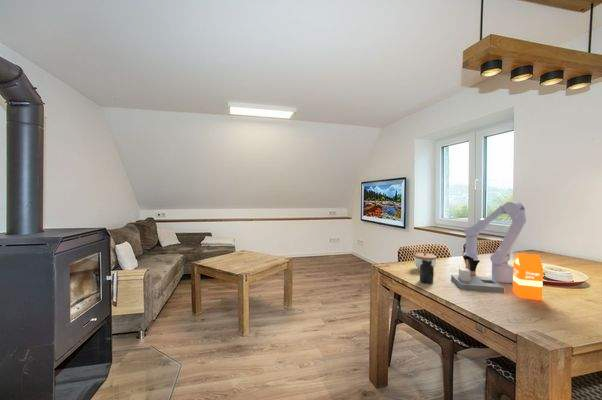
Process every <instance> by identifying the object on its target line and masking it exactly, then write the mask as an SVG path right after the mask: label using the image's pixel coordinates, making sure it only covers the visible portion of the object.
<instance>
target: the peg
mask: <svg viewBox="0 0 602 400" xmlns="http://www.w3.org/2000/svg"><path fill="white" fill-rule="evenodd" d="M465 269H468V270H470V264H469V261H468V259H466V264H465ZM476 270H477V269H476ZM476 270H475V271H471V270H470V276H477V274H476Z"/></svg>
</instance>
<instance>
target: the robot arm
mask: <svg viewBox="0 0 602 400" xmlns="http://www.w3.org/2000/svg"><path fill="white" fill-rule="evenodd" d="M525 211H526V207H525V206H524V205H523V204H522V203H521V202H520V201H506V202H505V203H504V204H502V205H500V206H498V207H497V208H496V209H495V210H494V211H492V212H491V213H490V214H488V215H487V216H486V217H485V218H484V217H483V218H482V217H481V218H477V219H476V221H475V222H474V223H471V224H470V226H466V228H465V229H464V235H465V251H464V253H463V254H462V257H463V259H464V263H465V265H466V259H468V261H469V264H470V270H471V271H475V270H477V267H478V264H479V263H480V259H479V258H478V254H477V253H478V236H479V235H480V233H481V232H483V231H484V230H485V229H487V228H489V226H490V223H491V222H493V221H494V220H495V219H498V218H499V217H500V216H502V215H507V216H509V217H510V219H511V221H512V222H511V223H510V226H509V228H508V230H507V231H506V234H505V235H504V237H503V239H502V240H501V243H500V244H499V247H498V248H496V250H495V252H494V253H492V254H491V255H490V261H491V276H489V277H490V278H491V279H493V280H494V281H496V282H497V283H507V284H513V270H514V265H512V264H509V263H508V262H509V261H510V259H511V253H512V248H513V247H514V245H515V243H516V241H517V239H518V237H519V235H520V233H521V232H522V230H523V227H524V226H525V224H526V221H527V218H526V217H527V216H526V212H525Z"/></svg>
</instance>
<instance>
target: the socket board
mask: <svg viewBox="0 0 602 400" xmlns="http://www.w3.org/2000/svg"><path fill="white" fill-rule="evenodd" d="M450 277H451V278H450V280H451V281H452V282H454V283H455V285H457V287H458V288H459V289H460V290H465V291H466V290H467V291H478V292H479V291H480V292H490V293H505V287H504V286H503V285H501V284H500V283H499V282H496V281H494V280H493V279H491V278H490V277H491V276H478V275H470V270H468V269H466V268H463V267H462V268H461V267H459V269H458V274H451V275H450Z"/></svg>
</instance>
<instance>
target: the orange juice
mask: <svg viewBox="0 0 602 400" xmlns="http://www.w3.org/2000/svg"><path fill="white" fill-rule="evenodd" d="M513 268H514V270H513V283H512V293H513V294H515V295H516V297H518V298H520V299H529V300H538V301H542V300H543V288H544V287H543V284H544V283H543V282H544V281H543V280H544V279H543V278H544V268H543V263H542V259H541V255H540V254H535V253H534V254H533V253H520V252H518V253H516V256H515V259H514V260H513Z"/></svg>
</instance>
